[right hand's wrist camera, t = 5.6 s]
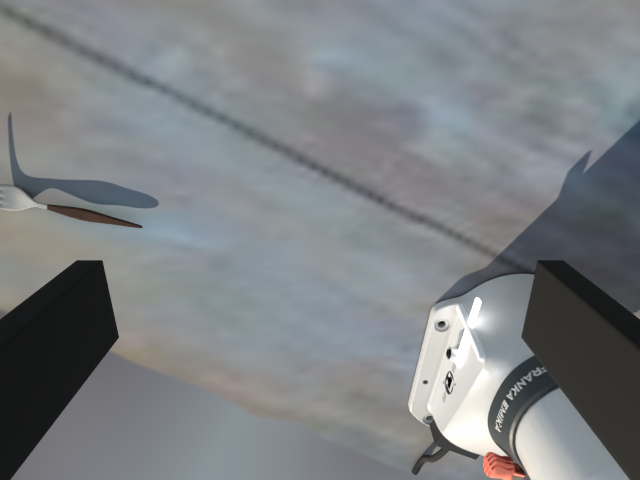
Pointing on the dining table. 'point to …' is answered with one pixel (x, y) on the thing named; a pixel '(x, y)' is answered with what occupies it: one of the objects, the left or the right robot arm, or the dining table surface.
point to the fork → (53, 207)
